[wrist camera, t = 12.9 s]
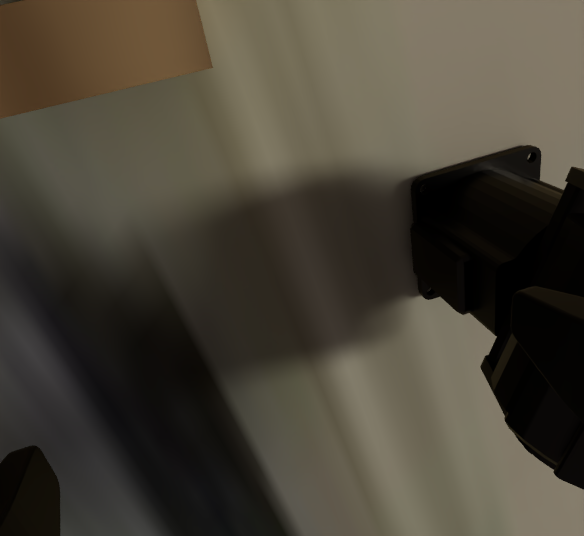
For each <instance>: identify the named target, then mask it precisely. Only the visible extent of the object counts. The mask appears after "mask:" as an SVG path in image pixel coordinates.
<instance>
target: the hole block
mask: <svg viewBox="0 0 584 536" xmlns="http://www.w3.org/2000/svg"><path fill="white" fill-rule="evenodd" d="M209 68H213V67H212V63H211V59H210V55H209V51H208V47H207V43H206V39H205V35H204V31H203V27H202V23H201V19H200V15H199V11H198V7H197V3H196V0H23V1H18V2H13V3H8V4H4V5H0V118H4V117H8V116H13V115H17V114H21V113H25V112H29V111H33V110H38V109H42V108H46V107H50V106H54V105H59V104H63V103H67V102H71V101H75V100H79V99H84V98H88V97H92V96H96V95H100V94H105V93H109V92H113V91H117V90H121V89H125V88H130V87H134V86H138V85H142V84H146V83H151V82H155V81H159V80H163V79H167V78H172V77H176V76H180V75H184V74H188V73H192V72H197V71H201V70H205V69H209Z"/></svg>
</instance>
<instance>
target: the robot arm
mask: <svg viewBox="0 0 584 536" xmlns="http://www.w3.org/2000/svg"><path fill="white" fill-rule="evenodd" d="M530 153H531V155H530V158H529V159H528V160H527V157H528V155H529V154H530ZM540 166H541V151H540V149H539V148H537V147H534V146H531V145H526V146H523V147H519V148H516V149H512V150H509V151H506V152H502V153H499V154H495V155H492V156H488V157H485V158H482V159H478V160H475V161H471V162H468V163H465V164H461V165H458V166H454V167H451V168H447V169H444V170H441V171H437V172H434V173H430V174H427V175H424V176H420V177H418V178H416V179H415V180H414V181H413V183H412V186H411V197H412V210H413V224H412V227H411V229H410V231H411V244H412V257H413V270H414V273H415V274H416V275H417V277H418V290H419V293H420V294H421V295H422V296H423V297H424V298H425V299H427V300H430V299H434V298H437V297H441V298H442V299H444V300H445V301H446V302H447V303H448V304H449V305H450V306H451V307H452V308H453V309H455V310H456V311H457V312H459V313H460V314H462V315H464V314H467V313H470V314H471V315H473V316H474V317H475V318H476V319H477V320H478V321H479V322H481V323H482V324H483V325H484V326H485V327H486V328H487V329H489V330H490V331H491V332H492V333H493V334H494V335H495V336H497V338H496V340H495V342H494V344H493V346H492V349H491V351H490V353H489V355H486V356H485V358H484V360H483V362H482V364H481V366H480V367H481V370H482V372H483V374H484V375H485V377H486V379H487V381H488V383H489V385H490V387H491V389H492V391H493V393H494V395H495V397H496V399H497V401H498V403H499V405H500V407H501V409H502V411H503V413H504V415H505V422H506V424H507V425H508V427H509V429H510V430H511V431H512V432H513V433H514V434H515V435H516V437H517V439H518V440H519V441H520V442H521V443H522V445H523V446H524V447H525V449H526V450H527V451H528V452H529V453H531V454H533V455H534V456H535V457H536V458H537V459H539V460H540V461H542V462H543V463H544V464H546V465H547V466H549V467H550V468H552V469H554V474H555V475H556V477H558V478H559V479H561V480H563V481H565V482H568V483H570V484H572V485H575V486H577V487H579V488H582V489H584V169H581V168H576V167H571V169H570V171H569V173H568V176H567V178H566V180H565V181H566V182H568V183H567V185H566V187H565V189H564V190H562V189H560V188H557V187H555V186H552V185H550V184H547V183H545V182H542V181H540ZM424 184H426V188H425V190H424V191H422V192H420V189H421V187H422V185H424ZM428 288H431V289H430V290H429V291H428V292H427V290H428ZM0 536H60V487H59V482H58V479H57V476H56V475H55V473H54V471H53V469H52V468H51V466H50V464H49V463H48V461H47V459H46V458H45V456H44V454H43V453H42V451H41V450H40V448H38V447H37V446H33V445H32V446H28V447H25V448H22V449H19V450H16V451H13V452H11V453H9V454H8V455H7V456H6V457H5V458H4V459H3V461H2V462H1V463H0Z"/></svg>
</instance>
